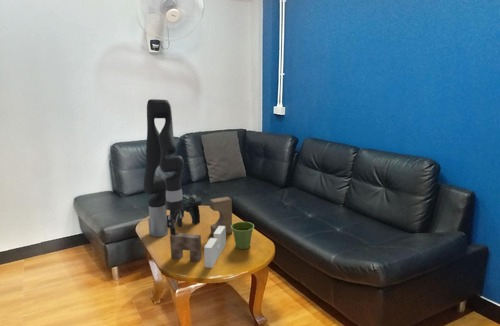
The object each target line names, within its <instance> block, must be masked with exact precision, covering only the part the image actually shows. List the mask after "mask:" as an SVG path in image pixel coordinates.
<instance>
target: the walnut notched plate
mask: <svg viewBox="0 0 500 326" xmlns="http://www.w3.org/2000/svg"><path fill="white" fill-rule="evenodd" d="M175 233H176V234H175V235H171V234H170V235H169V239H170V240H169V241H170V243H169V244H170V256H171V257H170V259H171V260H182V259H183V257H184V251H188V252H189V261H191V262H200V261H201V259H202V258H203V257H202V255H203V254H202V240H201V239H202V238H201V237H202V236H201V234H196V233H195V234H194V233H182V232H175Z"/></svg>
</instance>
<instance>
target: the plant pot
mask: <svg viewBox="0 0 500 326" xmlns="http://www.w3.org/2000/svg"><path fill="white" fill-rule="evenodd" d="M231 228H232V233H233V237H234V243H235V247H236V248H237V249H238V250H247V249H249V248H250V247H251V241H252V236H253V230H254V228H255V225H254V223H252V222H249V221H237V222H234V223H232V225H231Z"/></svg>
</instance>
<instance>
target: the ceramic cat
mask: <svg viewBox="0 0 500 326" xmlns="http://www.w3.org/2000/svg"><path fill="white" fill-rule="evenodd" d="M187 192H190V195H189V194H187V193H185V192H183V194H182V197H183V210H184V212H186V213H189V215H190V217H191V222H192V224H195V225H197V224H200V223H201V214H200V208H199V207H200V206H201V205H202V198H201V197H200V195H199V194H197V195H195V193H192V190H191V189H188V190H187ZM181 214H182V213H181Z"/></svg>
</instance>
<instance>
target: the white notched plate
mask: <svg viewBox="0 0 500 326" xmlns="http://www.w3.org/2000/svg"><path fill="white" fill-rule="evenodd" d="M226 237H227V234H226V226H218V228H217V229H216V231H215V232H214V236H213V237H210V238H209V239H208V241H207V243H206V244H204V247H203V250H204V251H203V252H204V253H203V255H204V267H205V268H211V269H213V268H214V266H215V264H216V262H217V260H218V258H219V257H220V255H221V253H222V251H223V250H224V248H225V246H226V244H227V240H226V239H227V238H226Z"/></svg>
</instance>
